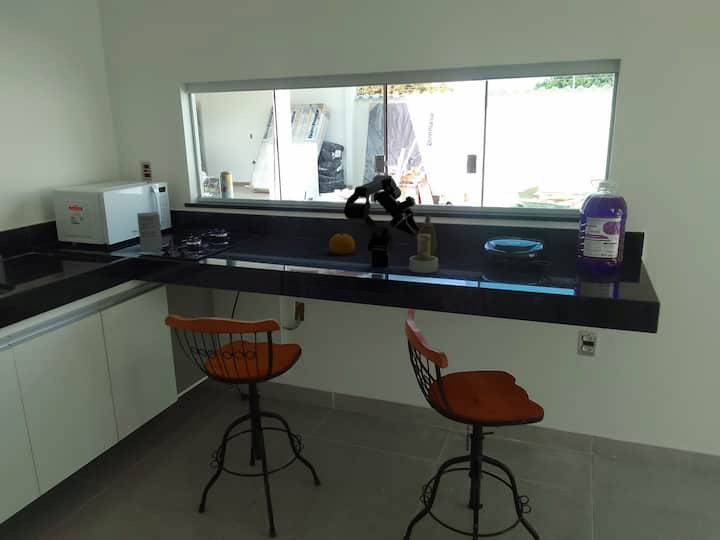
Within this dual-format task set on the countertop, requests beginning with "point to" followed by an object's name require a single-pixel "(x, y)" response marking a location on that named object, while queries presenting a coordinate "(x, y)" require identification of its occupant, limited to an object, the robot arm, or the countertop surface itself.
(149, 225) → the supplement box
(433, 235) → the squeeze bottle
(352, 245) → the fruit
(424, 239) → the birch post
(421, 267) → the celadon cup
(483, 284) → the countertop surface
